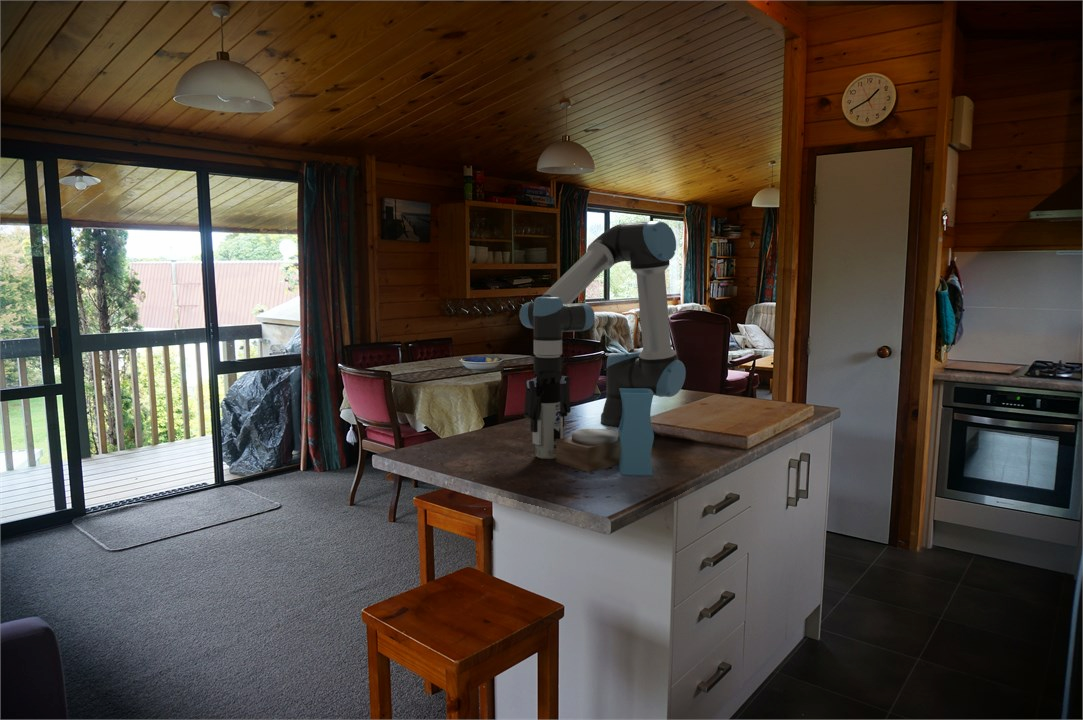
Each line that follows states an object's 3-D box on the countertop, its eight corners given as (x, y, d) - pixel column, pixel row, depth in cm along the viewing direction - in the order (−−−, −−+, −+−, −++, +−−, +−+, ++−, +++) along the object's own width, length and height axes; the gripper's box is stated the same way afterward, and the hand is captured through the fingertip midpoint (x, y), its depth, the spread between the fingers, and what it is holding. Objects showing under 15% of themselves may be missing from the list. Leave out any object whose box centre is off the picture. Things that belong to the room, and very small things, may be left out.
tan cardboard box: (601, 452, 192) (601, 425, 191) (633, 461, 182) (633, 433, 181) (556, 462, 182) (556, 433, 181) (587, 472, 172) (588, 442, 172)
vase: (617, 466, 178) (618, 388, 175) (649, 466, 177) (650, 388, 175) (620, 475, 170) (621, 393, 168) (653, 475, 170) (654, 393, 167)
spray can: (557, 460, 184) (558, 384, 181) (532, 458, 185) (532, 383, 183) (562, 454, 190) (562, 380, 188) (537, 452, 192) (537, 380, 189)
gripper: (566, 352, 194) (566, 434, 196) (509, 357, 181) (509, 444, 184) (585, 354, 188) (584, 439, 190) (526, 359, 175) (527, 450, 178)
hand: (547, 441), depth 187 cm, fingers closed on spray can, 7 cm apart
